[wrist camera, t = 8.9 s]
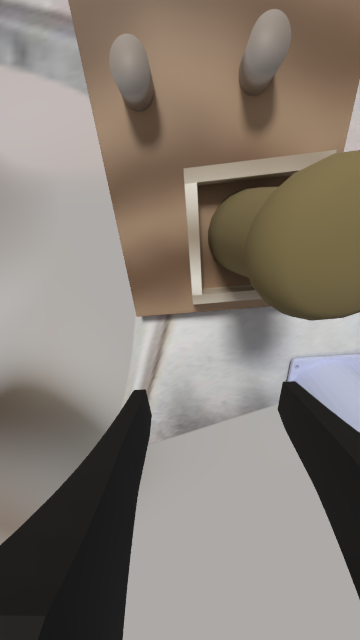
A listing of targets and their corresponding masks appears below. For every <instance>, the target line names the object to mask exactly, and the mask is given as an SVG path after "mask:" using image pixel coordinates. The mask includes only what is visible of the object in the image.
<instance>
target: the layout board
mask: <svg viewBox="0 0 360 640" xmlns="http://www.w3.org/2000/svg"><path fill="white" fill-rule="evenodd" d="M68 1H69V5H70V10H71V15H72V19H73V24H74V28H75V33H76V38H77V42H78V47H79V52H80V56H81V61H82V65H83V70H84V75H85V79H86V84H87V88H88V93H89V98H90V102H91V106H92V111H93V116H94V121H95V125H96V130H97V135H98V139H99V144H100V148H101V153H102V158H103V162H104V167H105V171H106V176H107V181H108V186H109V190H110V195H111V199H112V204H113V209H114V213H115V218H116V222H117V227H118V232H119V236H120V241H121V245H122V250H123V254H124V259H125V264H126V268H127V273H128V278H129V282H130V287H131V292H132V296H133V301H134V306H135V310H136V315H137V317H139V316H152V315H165V314H177V313H190V312H203V311H215V310H228V309H241V308H254V307H266V306H270V305H269V304H267V303H266V302H265V301H264V300H263V299H262V298H261V297H260V295H259V294H258V293H257V291H256V290H255V289H254V287H253V286H252V285H251V282H250V279H249V278H247V277H245V276H242V275H239V274H237V273H234V272H231V271H229V270H227V269H225V268H224V267H222V266H221V265H219V264H218V263H217V261H216V260H215V259H214V257H213V256H212V254H211V251H210V248H209V245H208V229H209V225H210V221H211V218H212V216H213V214H214V213H215V211H216V209H217V207H218V206H219V205H220V204H221V203H222V202H223V201H224V200H225V199H226V198H227V197H228V196H229V195H231V194H233V193H235V192H237V191H239V190H241V189H247V188H256V187H279V186H280V185H281V184H283V183H284V182H285V181H286V180H287V179H288V178H289V177H290V176H292V175H293V174H294V173H296V172H298V171H300V170H302V169H304V168H306V167H308V166H310V165H312V164H314V163H316V162H318V161H320V160H322V159H324V158H326V157H328V156H331V155H333V154H335V153H343V151H344V147H345V142H346V138H347V133H348V129H349V124H350V120H351V115H352V111H353V106H354V102H355V97H356V93H357V88H358V84H359V79H360V0H68Z"/></svg>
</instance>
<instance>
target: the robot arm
mask: <svg viewBox="0 0 360 640" xmlns="http://www.w3.org/2000/svg"><path fill="white" fill-rule="evenodd" d="M296 365H297V366H296ZM278 411H279V414H280V417H281V419H282V422H283V425H284V427H285V429H286V432H287V434H288V435H289V437H290V440H291V441H292V443H293V445H294V447H295V449H296V451H297V453H298V455H299V457H300V459H301V461H302V463H303V465H304V467H305V469H306V470H307V472H308V474H309V476H310V478H311V480H312V482H313V484H314V487H315V489H316V491H317V493H318V495H319V498H320V500H321V502H322V505H323V507H324V509H325V511H326V514H327V517H328V519H329V521H330V523H331V526H332V529H333V531H334V534H335V536H336V539H337V541H338V544H339V546H340V549H341V551H342V554H343V556H344V559H345V562H346V564H347V567H348V569H349V572H350V574H351V577H352V580H353V583H354V585H355V588H356V590H357V593H358V596H359V598H360V354H351V355H335V356H319V357H303V358H294V359H293V360H292V361H291V364H290V369H289V374H288V379H287V382H283V384H282V389H281V395H280V400H279V405H278ZM151 417H152V415H151V410H150V406H149V402H148V398H147V394H146V390H134V391H133V392H132V394H131V396H130V397H129V399H128V400H127V402H126V404H125V405H124V407H123V408H122V410H121V411H120V413H119V414H118V416H117V417H116V419H115V420H114V422H113V423H112V424H111V426H110V427H109V429H108V430H107V432H106V433H105V434H104V435H103V437H102V438H101V439H100V441H99V442H98V443H97V445H96V446H95V447H94V449H93V450H92V451H91V452H90V454H89V455H88V456H87V457H86V458H85V460H84V461H83V462H82V463H81V464H80V466H79V467H78V468H77V469H76V470H75V471H74V472H73V473H72V475H71V476H70V477H69V478H68V479H67V480H66V481H65V482H64V483H63V484H62V486H61V487H60V488H59V489H58V490H57V491H56V492H55V493H54V494H53V495H52V496H51V497H50V498H49V499H48V500H47V501H46V502H45V503H44V504H43V505H42V506H41V507H40V508H39V509H38V510H37V511H36V512H35V513H34V514H33V515H32V516H31V517H30V518H29V519H28V520H27V521H26V522H25V523H24V524H23V525H22V526H21V527H20V528H19V529H18V530H17V531H15V532H14V533H13V534H12V535H11V536H10V537H9V538H8V539H7V540H6V541H4V542H3V543H2V544H1V545H0V640H122V638H123V627H124V616H125V604H126V593H127V583H128V574H129V564H130V554H131V546H132V537H133V528H134V520H135V511H136V503H137V497H138V491H139V485H140V480H141V475H142V470H143V466H144V461H145V455H146V451H147V446H148V441H149V436H150V427H151Z"/></svg>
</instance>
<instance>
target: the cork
mask: <svg viewBox="0 0 360 640" xmlns="http://www.w3.org/2000/svg"><path fill="white" fill-rule="evenodd" d="M208 245H209V248H210V251H211V254H212V256H213V257H214V259H215V260H216V261H217V263H218V264H219V265H221V266H222V267H224V268H225V269H227V270H229V271H231V272H234V273H237V274H239V275H242V276H245V277H247V278H249V279H250V282H251V285H252V286H253V287H254V289H255V290H256V291H257V293H258V294H259V295H260V297H261V298H262V299H263V300H264V301H265V302H266V303H267V304H269V305H270V306H272V307H273V308H275V309H277V310H278V311H280V312H282V313H284V314H286V315H289V316H292V317H297V318H302V319H306V320H322V319H335V318H343V317H346V316H349V315H352V314H356V313H359V312H360V150H358V151H350V152H343V153H335V154H333V155H331V156H328V157H326V158H324V159H322V160H320V161H318V162H316V163H314V164H312V165H310V166H308V167H306V168H304V169H302V170H300V171H298V172H296V173H294V174H293V175H292V176H290V177H289V178H288V179H287V180H286V181H285V182H284V183H283V184H281V185H280V186H279V187H256V188H247V189H241V190H239V191H237V192H235V193H233V194H231V195H229V196H228V197H227V198H226V199H225V200H224V201H223V202H222V203H221V204H220V205H219V206H218V207H217V209H216V211H215V213H214V214H213V216H212V218H211V221H210V225H209V229H208Z"/></svg>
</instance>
